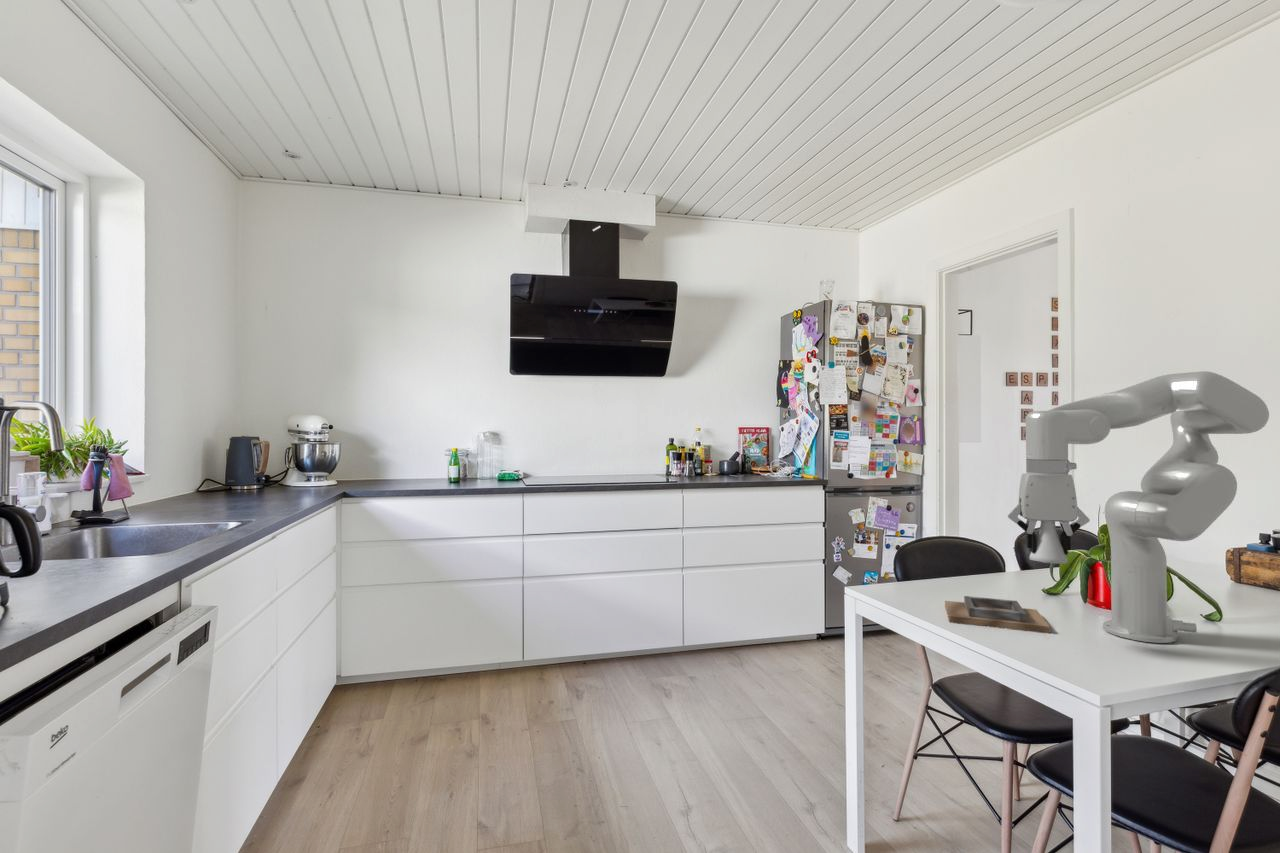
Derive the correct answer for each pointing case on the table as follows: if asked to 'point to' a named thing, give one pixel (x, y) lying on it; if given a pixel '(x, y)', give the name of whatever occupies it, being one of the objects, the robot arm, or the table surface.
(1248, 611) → the table surface
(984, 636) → the table surface
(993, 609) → the walnut board
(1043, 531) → the flask
